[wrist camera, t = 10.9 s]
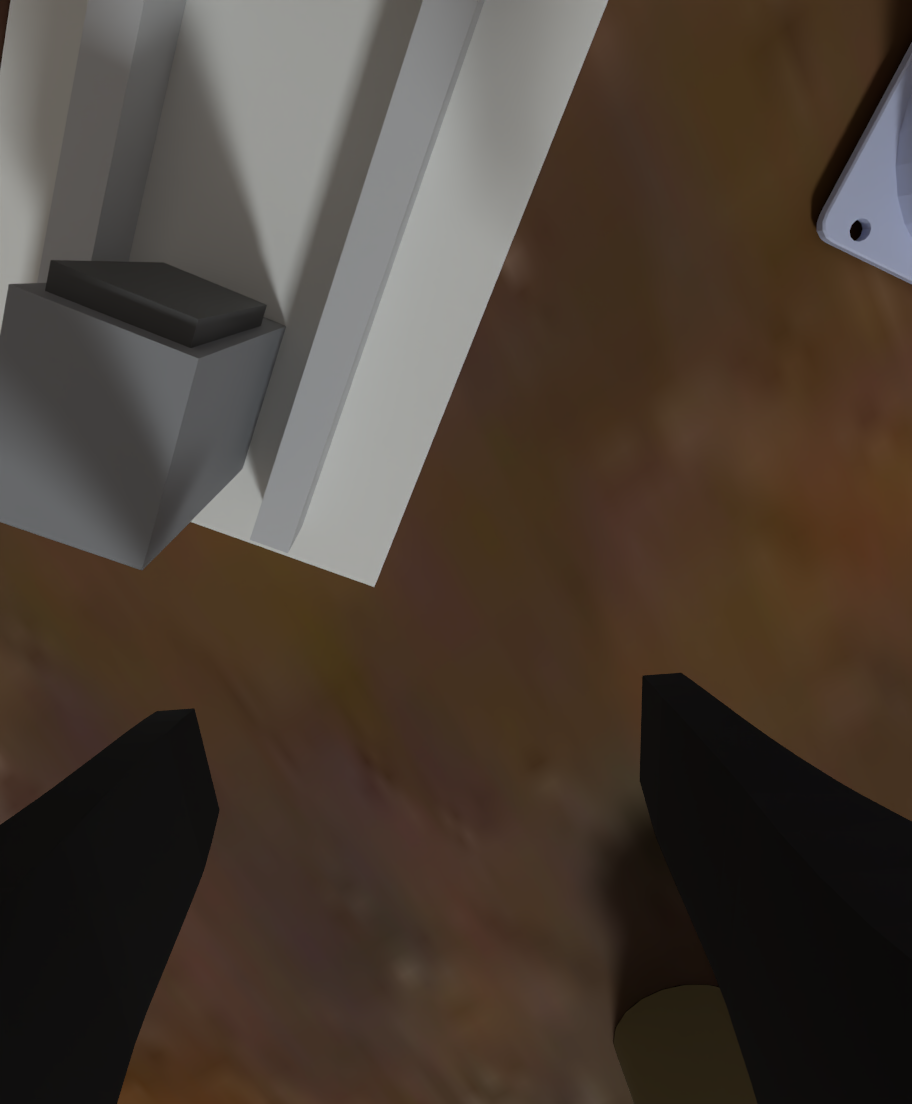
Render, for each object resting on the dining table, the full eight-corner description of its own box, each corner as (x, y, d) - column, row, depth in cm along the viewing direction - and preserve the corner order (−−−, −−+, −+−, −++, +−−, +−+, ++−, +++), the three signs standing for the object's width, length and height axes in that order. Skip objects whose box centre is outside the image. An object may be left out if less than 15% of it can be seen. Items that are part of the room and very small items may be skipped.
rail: (749, -364, 14) (1082, -1050, 7) (377, 573, 22) (343, 732, 14) (155, -738, 12) (-272, -2239, 5) (-32, 426, 20) (-315, 522, 12)
